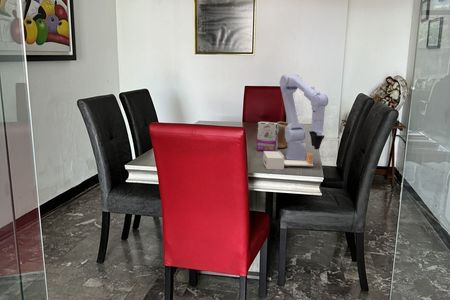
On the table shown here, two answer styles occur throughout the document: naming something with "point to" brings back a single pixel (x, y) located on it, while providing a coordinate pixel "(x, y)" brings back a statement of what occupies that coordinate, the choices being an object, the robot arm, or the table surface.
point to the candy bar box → (267, 136)
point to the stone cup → (282, 135)
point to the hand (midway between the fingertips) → (315, 147)
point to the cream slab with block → (301, 163)
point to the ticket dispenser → (273, 160)
